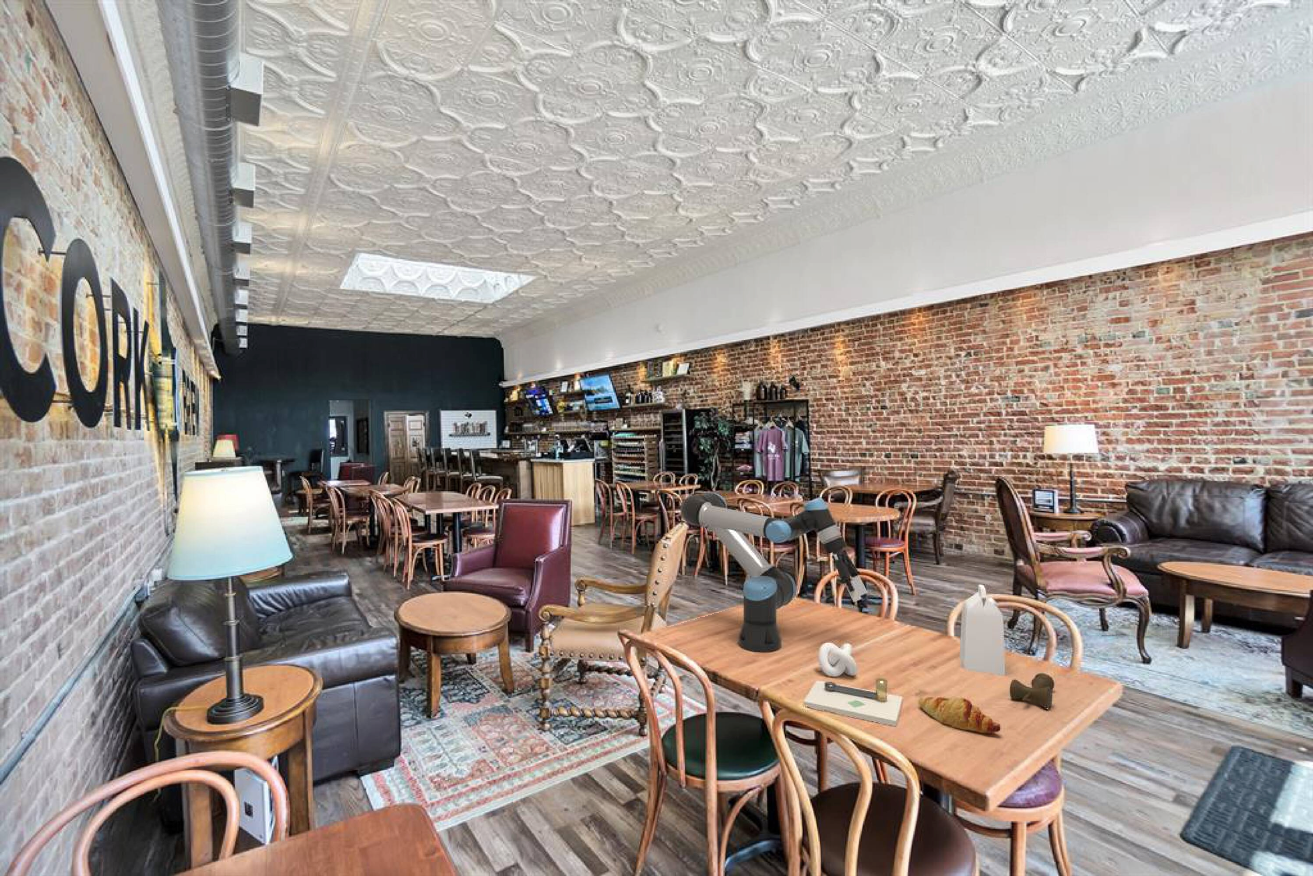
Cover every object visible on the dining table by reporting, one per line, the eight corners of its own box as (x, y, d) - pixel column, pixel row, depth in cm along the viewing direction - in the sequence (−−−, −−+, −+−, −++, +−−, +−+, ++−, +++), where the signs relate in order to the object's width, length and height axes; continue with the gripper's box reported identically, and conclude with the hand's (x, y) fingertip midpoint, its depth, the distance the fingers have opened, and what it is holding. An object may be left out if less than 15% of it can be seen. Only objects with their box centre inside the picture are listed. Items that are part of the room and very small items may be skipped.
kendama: (1064, 696, 173) (1043, 716, 160) (1026, 687, 180) (1004, 705, 167) (1063, 675, 173) (1043, 694, 160) (1026, 667, 181) (1003, 683, 167)
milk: (959, 657, 202) (960, 580, 201) (998, 662, 198) (998, 584, 197) (964, 670, 190) (964, 589, 190) (1005, 676, 186) (1005, 593, 186)
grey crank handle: (823, 689, 172) (823, 672, 172) (825, 685, 175) (825, 668, 175) (886, 701, 164) (886, 683, 164) (887, 697, 167) (888, 679, 167)
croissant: (913, 723, 163) (906, 701, 161) (928, 696, 169) (922, 675, 167) (996, 753, 147) (989, 729, 145) (1010, 723, 153) (1004, 699, 150)
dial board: (803, 706, 165) (803, 701, 165) (816, 685, 179) (816, 680, 179) (896, 726, 154) (896, 720, 154) (902, 702, 168) (902, 696, 168)
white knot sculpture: (823, 663, 197) (823, 636, 197) (861, 669, 191) (861, 642, 191) (815, 675, 187) (815, 647, 187) (855, 683, 181) (855, 653, 181)
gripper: (834, 538, 199) (865, 599, 193) (848, 533, 221) (875, 587, 215) (814, 547, 202) (844, 607, 196) (829, 541, 224) (856, 595, 218)
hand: (860, 597), depth 205 cm, fingers open, 13 cm apart
